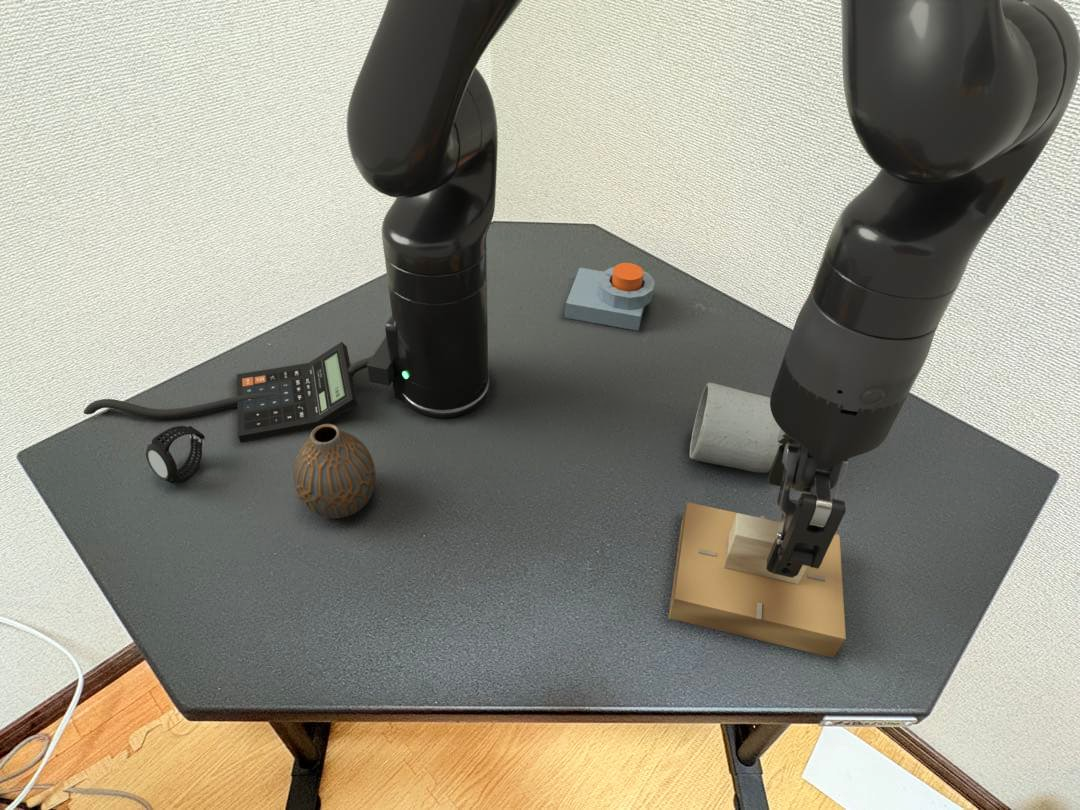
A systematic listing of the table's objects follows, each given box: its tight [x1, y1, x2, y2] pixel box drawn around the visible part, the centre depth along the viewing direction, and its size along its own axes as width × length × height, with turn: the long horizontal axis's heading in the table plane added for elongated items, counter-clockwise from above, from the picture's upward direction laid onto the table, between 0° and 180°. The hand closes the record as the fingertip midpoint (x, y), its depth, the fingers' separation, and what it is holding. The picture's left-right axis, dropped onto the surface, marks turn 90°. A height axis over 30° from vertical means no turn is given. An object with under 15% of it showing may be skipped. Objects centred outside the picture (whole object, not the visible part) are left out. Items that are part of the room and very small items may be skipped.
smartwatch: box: [145, 425, 206, 484], centre depth 66 cm, size 4×5×5 cm
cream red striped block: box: [723, 512, 807, 584], centre depth 58 cm, size 6×2×5 cm, turn 76°
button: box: [612, 262, 644, 292], centre depth 86 cm, size 4×4×2 cm
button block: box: [564, 266, 656, 332], centre depth 88 cm, size 10×8×4 cm
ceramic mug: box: [689, 382, 780, 474], centre depth 71 cm, size 11×8×8 cm
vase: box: [292, 423, 377, 519], centre depth 63 cm, size 7×7×9 cm
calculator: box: [236, 341, 359, 443], centre depth 75 cm, size 9×12×3 cm
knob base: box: [668, 501, 847, 659], centre depth 60 cm, size 13×10×3 cm
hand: (780, 525), depth 56 cm, fingers open, 8 cm apart
